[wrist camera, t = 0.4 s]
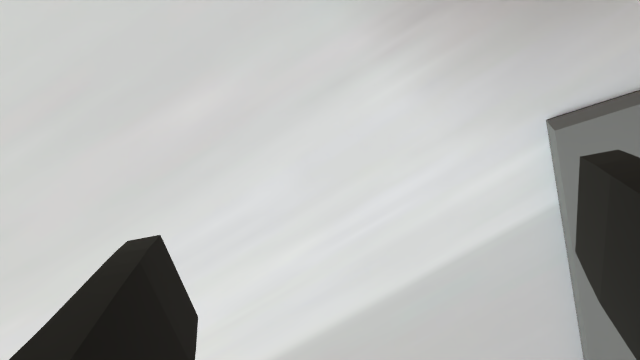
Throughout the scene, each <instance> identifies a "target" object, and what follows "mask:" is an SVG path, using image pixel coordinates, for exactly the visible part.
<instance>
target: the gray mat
mask: <svg viewBox="0 0 640 360" xmlns="http://www.w3.org/2000/svg"><path fill="white" fill-rule="evenodd" d="M546 122H547V129H548V135H549V142H550V148H551V154H552V161H553V167H554V173H555V180H556V186H557V192H558V199H559V205H560V211H561V218H562V224H563V230H564V237H565V243H566V250H567V256H568V262H569V269H570V275H571V281H572V288H573V294H574V300H575V307H576V313H577V319H578V326H579V332H580V338H581V345H582V351H583V357H584V360H636V358H635V357H634V355H633V354H632V352H631V351H630V349H629V348H628V346H627V345H626V343H625V342H624V340H623V338H622V337H621V335H620V334H619V332H618V331H617V329H616V328H615V326H614V325H613V323H612V322H611V320H610V319H609V317H608V315H607V314H606V312H605V311H604V309H603V308H602V306H601V304H600V303H599V301H598V299H597V297H596V295H595V293H594V291H593V289H592V287H591V285H590V283H589V281H588V279H587V276H586V274H585V272H584V270H583V268H582V266H581V263H580V261H579V259H578V257H577V255H576V253H575V245H576V225H577V204H578V184H579V163H580V156H586V155H591V154H596V153H602V152H607V151H612V150H621V151H624V152H627V153H629V154H632V155H634V156H637V157H639V158H640V91H637V92H634V93H631V94H628V95H625V96H621V97H618V98H615V99H612V100H609V101H606V102H603V103H599V104H596V105H593V106H590V107H587V108H584V109H581V110H577V111H574V112H571V113H568V114H565V115H562V116H559V117H555V118H552V119H549V120H546Z"/></svg>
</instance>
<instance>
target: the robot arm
mask: <svg viewBox="0 0 640 360" xmlns="http://www.w3.org/2000/svg"><path fill="white" fill-rule="evenodd" d="M575 253H576V255H577V257H578V259H579V261H580V263H581V266H582V268H583V270H584V272H585V274H586V276H587V279H588V281H589V283H590V285H591V287H592V289H593V291H594V293H595V295H596V297H597V299H598V301H599V303H600V304H601V306H602V308H603V309H604V311H605V312H606V314H607V315H608V317H609V319H610V320H611V322H612V323H613V325H614V326H615V328H616V329H617V331H618V332H619V334H620V335H621V337H622V338H623V340H624V342H625V343H626V345H627V346H628V348H629V349H630V351H631V352H632V354H633V355H634V357H635V358H636V360H640V158H639V157H637V156H634V155H632V154H629V153H627V152H624V151H621V150H612V151H607V152H602V153H596V154H591V155H586V156H580V163H579V184H578V204H577V225H576V245H575ZM197 324H198V316H197V314H196V311H195V309H194V307H193V305H192V303H191V301H190V298H189V296H188V294H187V292H186V290H185V288H184V285H183V283H182V281H181V279H180V277H179V274H178V272H177V270H176V268H175V266H174V264H173V261H172V259H171V257H170V255H169V253H168V251H167V248H166V246H165V244H164V242H163V240H162V238H161V235H157V236H152V237H147V238H141V239H136V240H131V241H127V242H126V243H125V244H124V245H123V246H121V247H120V248H119V249H118V250H117V251H116V252H115V253H114V254H113V255H112V256H111V257H110V258H109V259H108V260H107V261H106V262H105V263H104V264H103V265H102V266H101V267H100V268H99V269H98V270H97V271H96V272H95V273H94V274H93V275H92V276H91V277H90V278H89V280H88V281H87V282H86V283H85V284H84V285H83V286H82V287H81V288H80V289H79V290H78V291H77V292H76V293H75V294H74V295H73V296H72V297H71V298H70V299H69V300H68V301H67V302H66V303H65V305H64V306H63V307H62V308H61V309H60V310H59V311H58V312H57V313H56V314H55V315H54V316H53V317H52V318H51V319H50V320H49V321H48V322H47V323H46V324H45V325H44V326H43V327H42V328H41V329H40V330H39V331H38V332H37V333H36V334H35V335H34V336H33V337H32V338H31V339H30V340H29V341H28V342H27V343H26V344H25V345H24V346H23V347H22V348H21V349H20V350H19V351H18V352H16V353H15V354H14V355H13V356H12V357H11V358H10V359H9V360H195V352H196V339H197Z"/></svg>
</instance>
